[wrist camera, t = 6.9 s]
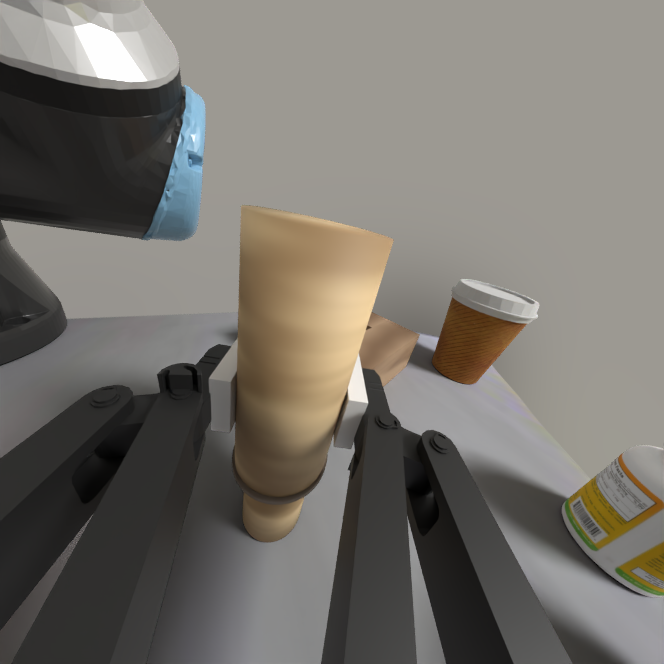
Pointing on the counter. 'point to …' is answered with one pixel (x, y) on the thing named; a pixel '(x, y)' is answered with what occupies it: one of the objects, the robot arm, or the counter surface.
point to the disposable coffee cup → (479, 328)
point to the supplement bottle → (624, 519)
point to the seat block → (386, 347)
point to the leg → (295, 353)
